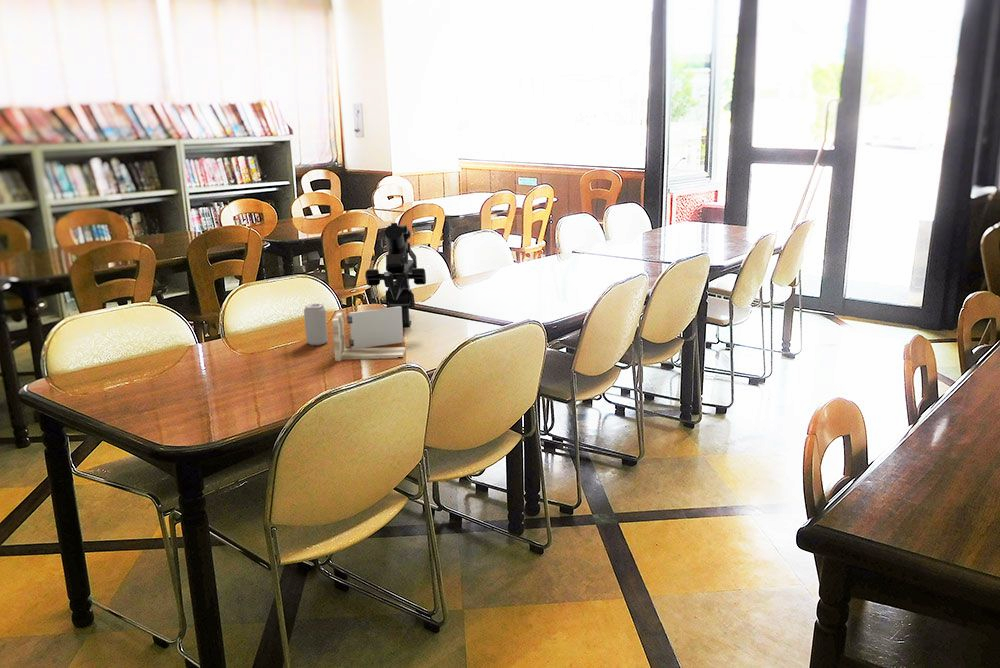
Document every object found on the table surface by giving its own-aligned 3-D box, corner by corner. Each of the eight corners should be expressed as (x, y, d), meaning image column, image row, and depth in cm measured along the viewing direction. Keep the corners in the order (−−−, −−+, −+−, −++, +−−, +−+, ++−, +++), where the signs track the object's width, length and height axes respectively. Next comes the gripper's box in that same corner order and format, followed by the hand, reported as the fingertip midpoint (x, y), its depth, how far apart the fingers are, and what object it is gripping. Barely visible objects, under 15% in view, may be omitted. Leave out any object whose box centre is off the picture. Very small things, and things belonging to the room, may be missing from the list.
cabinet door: (348, 348, 239) (346, 312, 236) (401, 340, 246) (400, 306, 243) (350, 349, 238) (347, 313, 235) (403, 342, 245) (401, 307, 242)
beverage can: (330, 340, 250) (327, 303, 247) (324, 346, 244) (321, 307, 241) (310, 340, 251) (307, 302, 247) (303, 346, 244) (300, 307, 241)
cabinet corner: (340, 351, 238) (337, 312, 235) (405, 349, 239) (403, 310, 236) (335, 361, 229) (332, 320, 225) (402, 359, 229) (400, 318, 226)
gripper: (364, 244, 251) (361, 286, 243) (423, 242, 251) (423, 284, 244) (368, 264, 261) (366, 305, 253) (426, 263, 261) (425, 303, 253)
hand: (395, 299), depth 250 cm, fingers closed
